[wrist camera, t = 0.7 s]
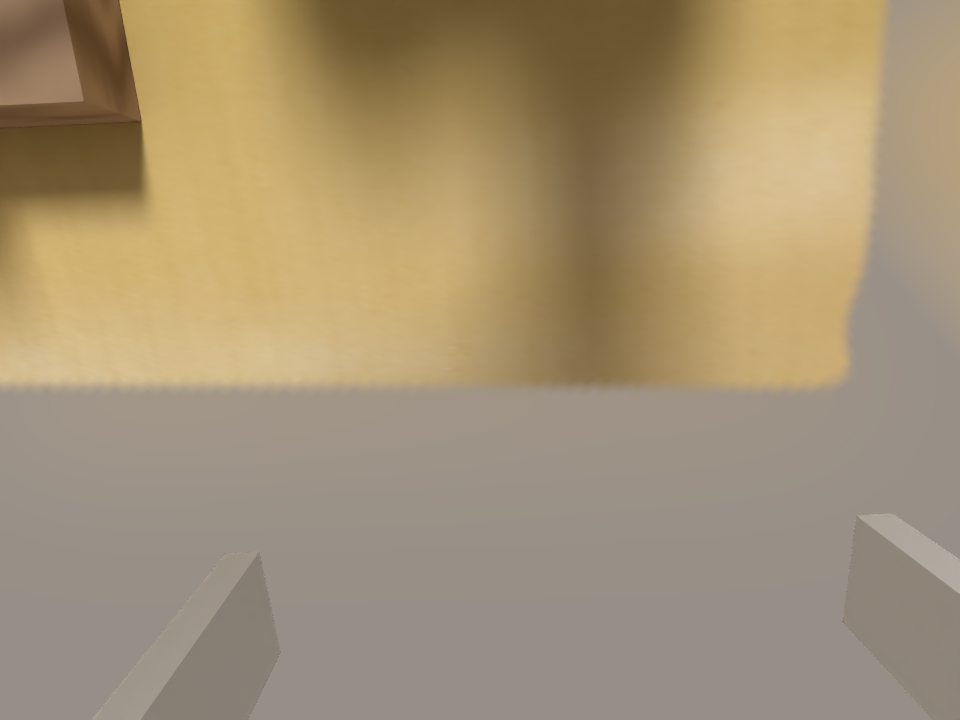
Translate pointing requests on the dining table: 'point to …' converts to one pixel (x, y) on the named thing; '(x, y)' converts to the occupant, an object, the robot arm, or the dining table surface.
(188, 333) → the dining table surface
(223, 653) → the robot arm
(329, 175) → the dining table surface
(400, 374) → the dining table surface
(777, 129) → the dining table surface
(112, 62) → the wooden box with sign
